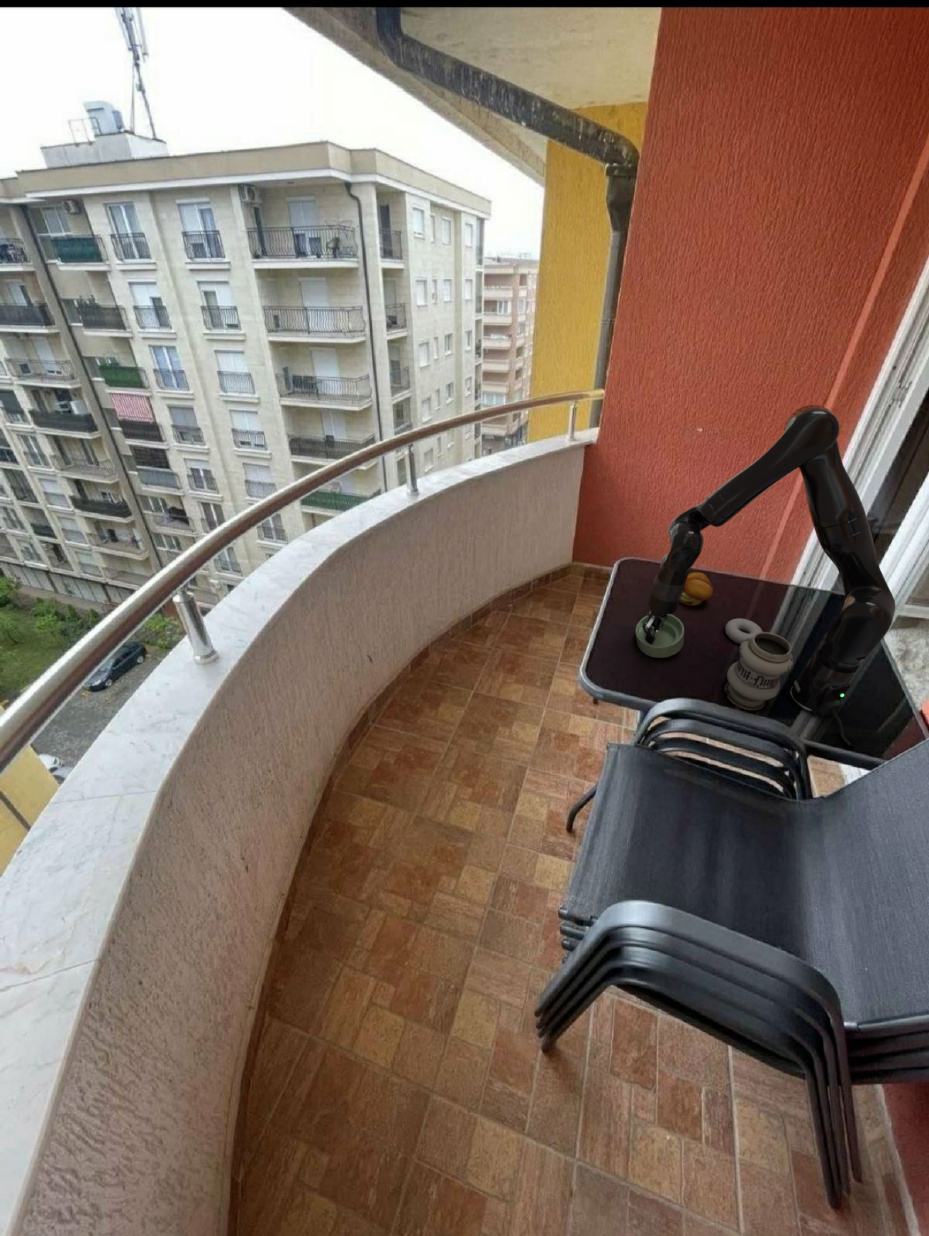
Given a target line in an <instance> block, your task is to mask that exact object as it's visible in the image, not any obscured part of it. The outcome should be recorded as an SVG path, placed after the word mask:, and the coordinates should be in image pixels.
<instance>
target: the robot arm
mask: <svg viewBox="0 0 929 1236" xmlns="http://www.w3.org/2000/svg"><path fill="white" fill-rule="evenodd" d="M782 430H783V433H782V435H781V436H780V437H779V438H778V439H777V441H776V442H775V443H774V444H772V446H770V448H768V450H767V451H766V452H764V453H763V454H762V455H761V456H760V457H758V459H756V460H755V461H754V462H752V463H751V464H750V465H748V466H747V467H745V468H744V469H742V470H741V471H739V472H737V473H736V474H735V475H733V476H732V477H730V478H728V480H726V481H725V482H724V483H722V484H721V485H720V486H719V487H718V488H716V489H715V490H714V491H713V492H711V494H709V495H708V496H707V497H706V498H705V499H704V500H703V501H702V502H700V503H697V504H695V505H694V506H692V507H690V508H688V509H687V510H685V511H683V512H682V513H680V514H678V515H677V516H676V517H675V518H674V519H673V520H672V521H671V522H670V524H669V527H668V529H667V533H668V537H669V541H670V549H669V551H668V553H666V554H664V555H663V557H662V558H661V561H660V563H659V566H658V569H657V573H656V575H655V577H654V579H653V582H652V585H651V588H650V591H649V594H648V598H647V601H646V602H647V606H648V608H649V610H650V611H649V612H648V614H647V615H648V617H649V618H648V622H647V623H644V624H643V625H642V628H643V630H644V633H646V634H647V635H646V638H645V640H646V641H647V643H649V644H652V643H653V642H654V641H655V639H656V636H657V633H658V632H659V631H660V628H661V627H663V625H664V623H665V621H666V620H667V618H668V616H669V614H671V615H673V613H674V614H675V612H676V611H677V610H678V607H679V604H680V599H681V596H682V594H683V591H684V588H685V583H686V579H687V577H688V574H690V571H691V568H692V567H693V566H694V564H695V563H696V561H697V560H698V558H699V557H700V555H701V553H702V551H703V547H704V542H705V539H704V536H703V535H704V534H703V532H702V531H703V530H704V529H706V528H708V527H709V526H712V527H715V528H719V527H722V526H724V525H726V524H727V523H728V522H729V521H730V520H731V519H733V518H734V517H735V516H736V515H738V514H739V513H740V512H741V511H742V510H744V509H745V508H746V507H747V506H749V505H750V504H751V503H752V502H753V501H755V500H756V499H757V498H758V497H759V496H761V495H762V494H763V493H764V492H766V491H767V490H769V488H770V487H772V486H773V485H775V484H776V483H778V482H779V481H780V480H781V479H783V478H785V477H786V476H788V475H789V474H791V473H792V472H794V471H795V470H797V469H799V472H800V474H801V477H802V480H803V485H804V490H805V497H806V502H807V507H808V512H809V516H810V519H811V523H812V526H813V529H814V532H815V535H816V538H817V540H818V543H819V546H820V547H821V549H822V550H823V552H824V553H825V555H826V556H827V557H828V558H829V560H830V561H831V562H832V563H833V565H834V566H835V568H836V569H837V571H838V573H839V576H840V579H841V583H842V588H843V592H844V603H843V606H842V608H841V611H840V612H839V614H838V615H837V617H836V619H835V620H834V621H833V623H832V624H831V627H830V628H829V630H828V631H827V632H826V633H825V634H824V635H823V637H822V638H821V640H820V642H819V643H818V645H817V647H816V648H815V650H814V652H813V653H812V655H811V656H810V658H809V660H808V661H807V662H806V664H805V666H804V667H803V669H802V670H801V672H800V674H799V676H797V679H795V680H794V682H793V685H792V686H791V688H790V689H789V698H790V699H791V701H792V702H793V703H794V704H795V705H796V706H797V707H798V708H800V709H802V710H803V711H805V712H808V713H809V714H811V715H812V716H818V715H820V716H822V717H825V716H830V715H833V717H834V718H835V720H836V722H837V723H838V727H839V736H840V738H841V739H842V741H843V742H844V743H845V744H846V745H847V746H848V747H850V746H852V743H851V741H849V740H848V739H847V738H846V736H845V733H844V732H845V731H844V730H845V729H844V725H843V722H842V721H841V718H840V716H839V714H838V711H839V710H840V709H841V707H842V706H843V703H842V702H841V700H842V699H843V697H845V694H846V693H847V691H848V690H849V689H850V687H851V685H852V684H851V682H850V680H851V679H852V677H853V676H854V675H855V673H856V672H857V671H858V669H859V668H860V666H861V665H862V664H863V662H864V661H865V659H866V658H867V657H869V656H870V655H871V654H872V653H873V652H874V650H875V649H876V648H877V647H878V645H879V644H880V643H881V641H882V640H883V639H884V637H885V636H886V634H888V631H889V630H890V628H891V626H892V624H893V620H894V616H895V612H896V601H895V598H894V595H893V593H892V591H891V589H890V587H889V584H888V583H887V580H886V579H885V576H884V574H883V572H882V570H881V567H880V564H879V562H878V558H877V552H876V546H875V543H874V539H873V535H872V531H871V527H870V523H869V520H868V516H867V514H866V511H865V507H864V505H863V502H862V500H861V498H860V496H859V493H858V491H857V489H856V487H855V485H854V483H853V481H852V479H851V477H850V476H849V474H848V472H847V470H846V468H845V466H844V462H843V460H842V456H841V452H840V447H839V443H838V437H839V434H840V430H841V429H840V421H839V420H838V418H837V417H836V416H835V414H834V413H833V412H832V411H831V410H830V409H829V408H827V407H825V406H823V405H818V404H808V405H804V406H800V407H799V408H797V409H796V410H795V411H793V412H792V413H790V415H789V417H788V418H787V419H786V421H785V423H784V426H783V429H782Z"/></svg>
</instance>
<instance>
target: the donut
mask: <svg viewBox="0 0 929 1236" xmlns="http://www.w3.org/2000/svg"><path fill="white" fill-rule="evenodd" d="M724 627H725V628H724V629H725V631H724V632H725V633H726V635H727V637H728V638H729V639H730V640H732V641H733V642H734V643H737V644H739V645H741V643H742V642H743V641H744V640H746V639H748V638H751V637H753V636H754V635H755V634H757V633H760V632H764V631H763V630H762V628H761V627H760V626H759V625H758V624H757V623H755V622H754V621H752V620H749V619H747V618H740V617H739V618H733V619H731V620H729V621H727V623H726V624H725V626H724Z"/></svg>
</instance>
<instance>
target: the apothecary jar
mask: <svg viewBox="0 0 929 1236" xmlns="http://www.w3.org/2000/svg"><path fill="white" fill-rule="evenodd" d="M738 653H739V658H738V661H735V662H733V663H732V664H731V665H730V666H729V668H728V669H727V672H726V677H727V683H726V684H725V685H724V689H723V690H724V692H725V693H726V694H727V696H726V698H727V699H728V700H729V701H730V702H731V703H732V704H733V705H734V706H737V707H738V708H741V709H743V710H746V711H747V710H748V711H757V710H761V709H763V708H764V706H765V705H766V703H767V701H768V700H771V699H773V698H775V697H776V696H777V695H778V694H779V692H780V690H781V681H780V678H781V676H782V675H785V674H787V673H788V672H790V671H791V670H792V668H793V667H794V656H793V654H792V646H791V643H789V641H788V640H787V639H786V638H784V637H782V636H781V635H778V634H776V633H772V632H769V631H768V632H767V631H763V632H760V633H757V634H755V635H754V636H753V637H751V638H748V639H746V640H744V641H743V642H742V643H741V644H739V647H738Z"/></svg>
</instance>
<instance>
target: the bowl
mask: <svg viewBox="0 0 929 1236" xmlns="http://www.w3.org/2000/svg"><path fill="white" fill-rule="evenodd" d="M648 615H649V614H647V615H645V616H644V617H642V618H641V619H640V620H639V621H638V623H637V624H636V625H635V638H636V644H637V647H638V649H640V652H642V653H643V654H645V655H646V656H648V657H652V658H659V659H663V658H669V657H672V656H674V655H676V654H677V653H679V652H680V651H681V649H682V648H683V646H684V645H685V644H684V643H685V627H684V623H683V622H682V621H681V619H680V618H679V617H677V616H675V615H673V614H669V616H668V618H667V620H666V621H665V623H664V625H663V627H661V628H660V631H659V632H658V633H657V636H656V639H655V641H654V642H653V643H652V644H649V643H647V641H646V640H645V638H646V635H647V634H646V633H644V630H643V628H642V625H643V624H644V623H647V622H648V618H649V617H648Z"/></svg>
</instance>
